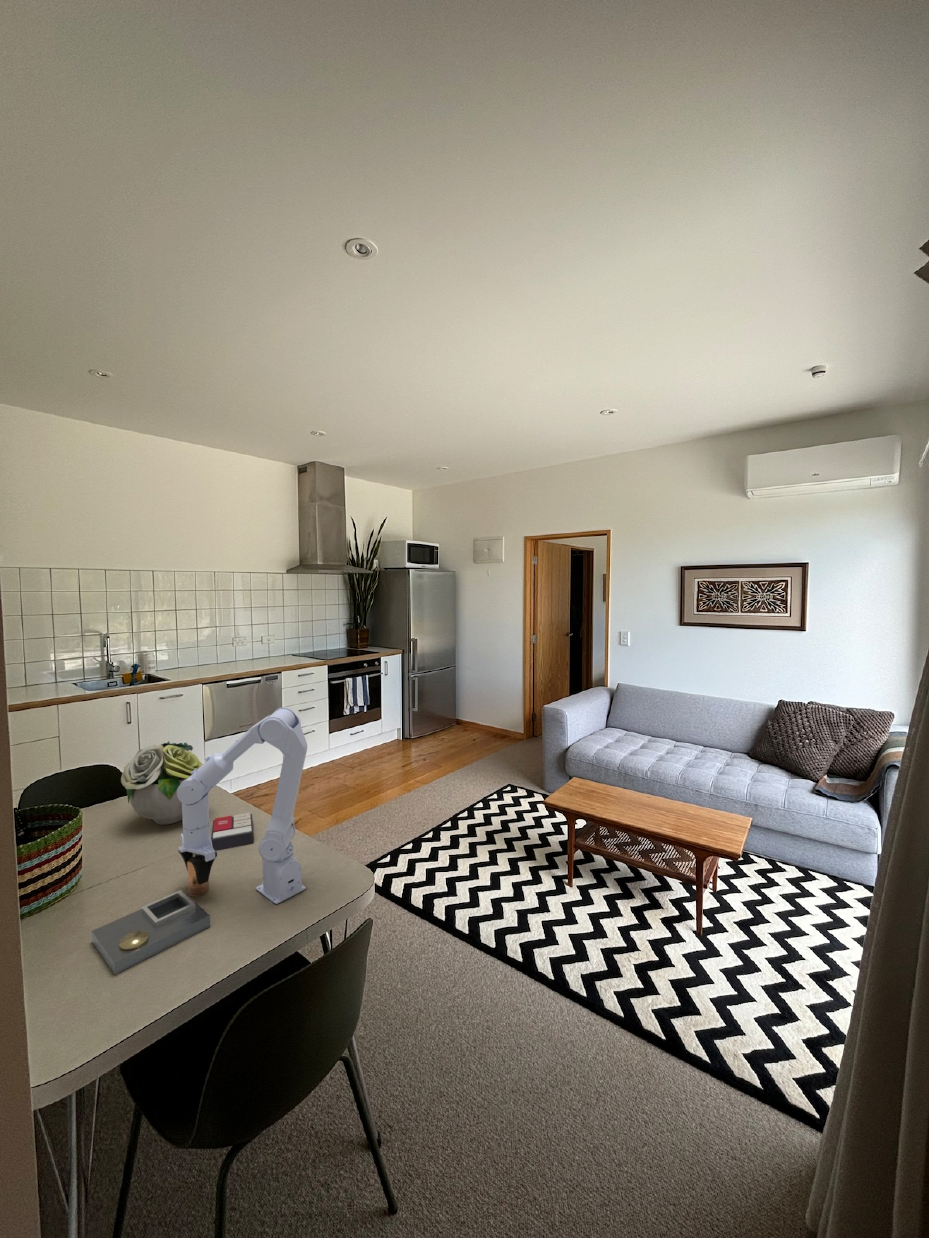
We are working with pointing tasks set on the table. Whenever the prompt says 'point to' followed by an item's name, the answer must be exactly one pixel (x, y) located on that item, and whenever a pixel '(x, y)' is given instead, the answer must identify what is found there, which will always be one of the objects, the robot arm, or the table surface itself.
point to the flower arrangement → (159, 780)
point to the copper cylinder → (195, 881)
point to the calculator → (232, 831)
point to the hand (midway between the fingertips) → (198, 878)
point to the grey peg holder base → (149, 930)
